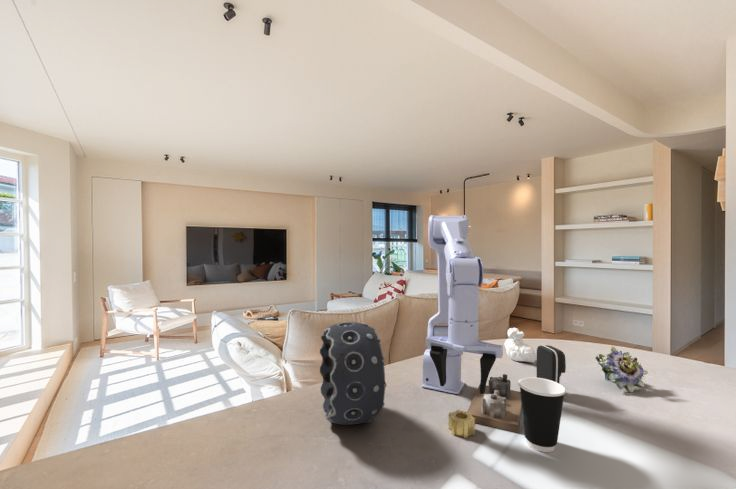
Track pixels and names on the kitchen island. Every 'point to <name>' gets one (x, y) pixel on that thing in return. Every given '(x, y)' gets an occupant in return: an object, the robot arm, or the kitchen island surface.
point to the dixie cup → (541, 411)
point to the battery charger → (550, 363)
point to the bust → (518, 347)
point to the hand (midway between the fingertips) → (462, 388)
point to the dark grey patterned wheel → (352, 373)
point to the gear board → (498, 420)
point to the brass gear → (461, 423)
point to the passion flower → (622, 369)
